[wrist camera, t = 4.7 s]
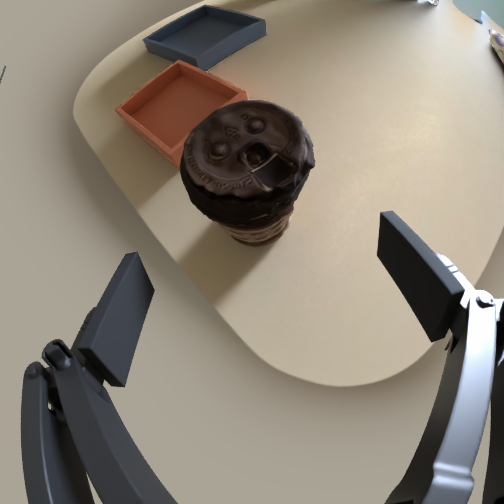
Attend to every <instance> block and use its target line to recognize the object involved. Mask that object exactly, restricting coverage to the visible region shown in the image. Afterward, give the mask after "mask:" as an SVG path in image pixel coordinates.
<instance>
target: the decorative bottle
mask: <svg viewBox="0 0 504 504" xmlns="http://www.w3.org/2000/svg"><path fill="white" fill-rule="evenodd" d="M489 32H490V33H489V34H490V42H491V44H492V46H493V48H494V49H495V51H496V52H497V54H498V55H499V57H500V59H501V61H502V63H503V65H504V36H502V35H500V34H498V33H496V32H495V31H494V30H492V29H490V30H489Z"/></svg>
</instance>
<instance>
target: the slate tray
mask: <svg viewBox="0 0 504 504" xmlns="http://www.w3.org/2000/svg"><path fill="white" fill-rule="evenodd" d="M265 35H266V22H265V20H264V19H261V18H258V17H254V16H251V15H247V14H244V13H240V12H236V11H232V10H228V9H223V8H219V7H214V6H209V5H203V6H201V7H199V8H197V9H195V10H193V11H191V12H189V13H187V14H185V15H183V16H181V17H179V18H178V19H176V20H174V21H172V22H170V23H169V24H167V25H165V26H164V27H162V28H160V29H159V30H157V31H155V32H154V33H152V34H151V35H149V36H147V37H146V38H144V39H143V41H144V43H145V45H146V47H147V49H148V52H150V53H153V54H155V55H158V56H160V57H163V58H165V59H168V60H170V61H172V62H176V61H177V60H181V61H183V62H185V63H188V64H190V65H192V66H194V67H197V68H199V69H201V70H203V71H206V70H208V69H209V68H211V67H212V66H214V65H215V64H217V63H218V62H220V61H221V60H223V59H224V58H226V57H228V56H229V55H231V54H233V53H234V52H236V51H238V50H239V49H241V48H243V47H245V46H246V45H248V44H250V43H252V42H253V41H255V40H257V39H259V38H261V37H263V36H265Z"/></svg>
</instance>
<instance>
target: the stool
mask: <svg viewBox="0 0 504 504" xmlns="http://www.w3.org/2000/svg"><path fill="white" fill-rule="evenodd" d="M417 1H418V0H417ZM428 1H429V2H430V3H431V4H433V5H436V6H437V5H438V2H439V0H428Z"/></svg>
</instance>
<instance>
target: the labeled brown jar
mask: <svg viewBox="0 0 504 504" xmlns="http://www.w3.org/2000/svg"><path fill="white" fill-rule="evenodd" d="M314 167H315V159H314V153H313V143H312V141H311V139H310V135H309V133H308V131H307V130H306V129H305V128H304V127H303V125H302V121H301V120H300V119H299V118H298V117H297V116H295V115H294V113H292V112H291V111H289V110H287V109H285V108H283V107H281V106H279V105H277V104H275V103H271V102H268V101H263V100H242V101H238V102H235V103H231V104H228V105H226V106H224V107H221V108H219V109H216V110H215V111H214V112H212V113H211V114H210V115H209V116H208V117H206V118H205V119H204V120H203V121H201V122H200V123H199V124H198V125H197V126H196V127H195V128H193V129H192V131H191V132H190V134H189V135H188V137H187V139H186V140H185V142H184V149H183V153H182V156H181V161H180V174H181V178H182V181H183V184H184V186H185V188H186V190H187V192H188V195H189V197H190V200H191V202H192V203H193V204H194V205H195V206H196V207H197V208H198V209H199V210H200V211H201V212H202V213H203V214H204V215H206V216H207V217H208V218H209V219H212V220H213V221H216V222H217V223H218V225H219V226H221V227H222V228H223V229H224V230H226V231H227V232H228V233H230V235H231V236H232V237H233V238H234V239H235V240H237V241H238V242H240V243H242V244H245V245H249V246H253V247H258V246H264V245H267V244H269V243H272V242H273V241H275V240H276V239H278V238H279V237H281V236H282V235H283V233H284V231H285V230H286V229H287V227H289V224H290V216H291V214H292V213H293V210H294V207H293V204H294V201H295V200H297V198H298V195H299V193H300V191H301V190H302V188H303V186H304V183H305V181H306V180H307V178H308V176H309V172H310V169H312V168H314Z"/></svg>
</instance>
